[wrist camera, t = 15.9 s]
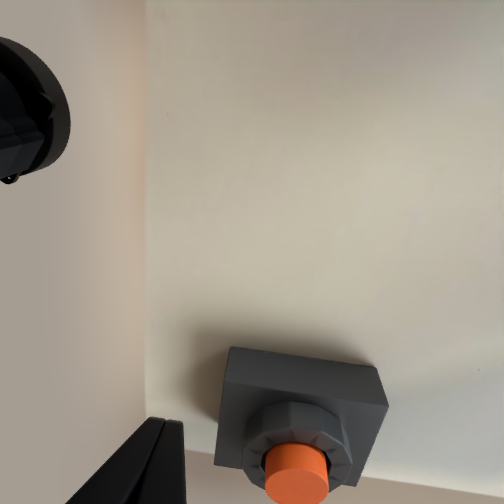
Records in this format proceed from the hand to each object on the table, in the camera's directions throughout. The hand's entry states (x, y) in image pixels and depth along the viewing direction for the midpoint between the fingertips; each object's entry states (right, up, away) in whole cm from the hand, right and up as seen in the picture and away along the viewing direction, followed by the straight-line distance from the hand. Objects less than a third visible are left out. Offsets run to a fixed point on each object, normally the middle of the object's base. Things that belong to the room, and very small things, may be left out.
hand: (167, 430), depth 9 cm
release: (+5, -6, +17) cm, 19 cm away
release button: (+5, -8, +13) cm, 16 cm away
